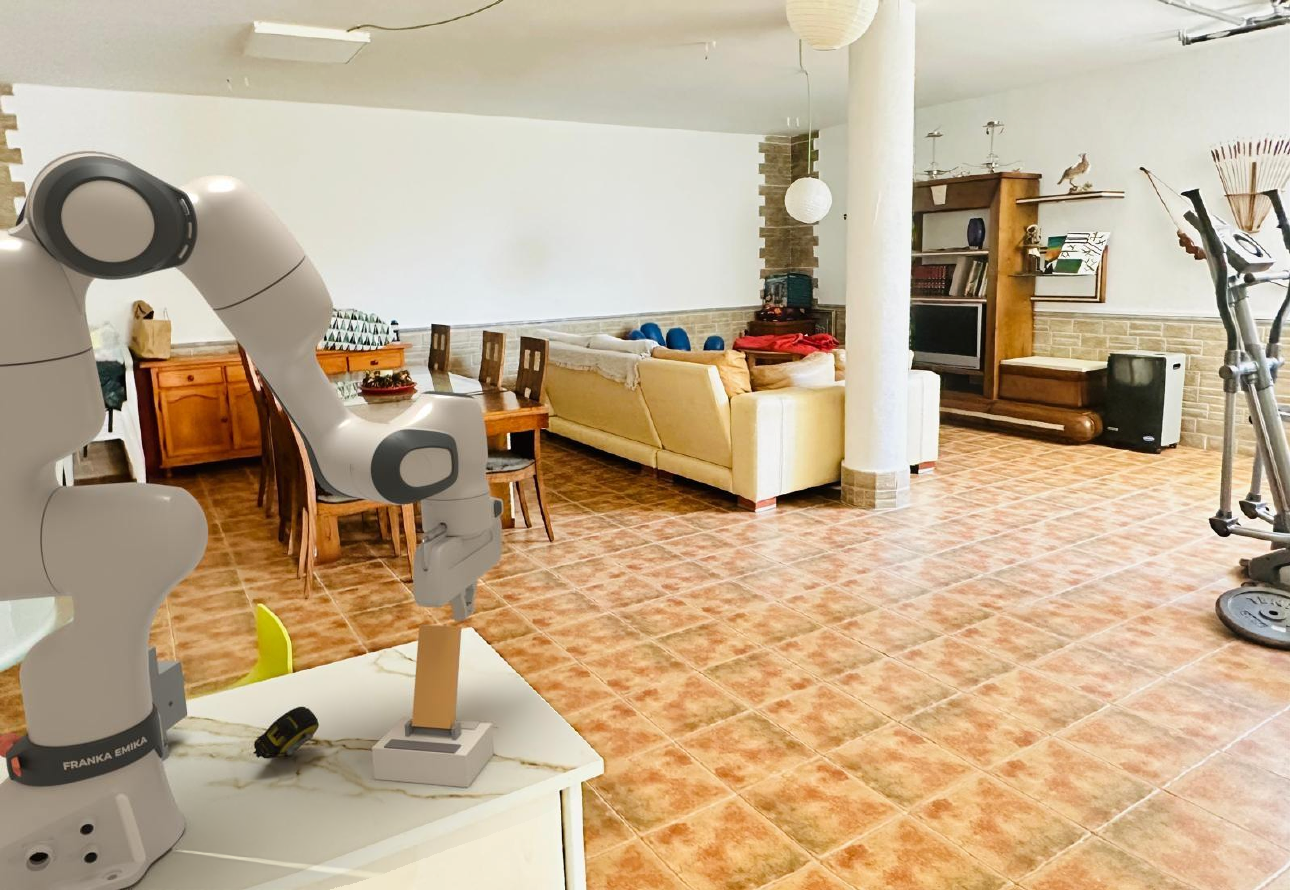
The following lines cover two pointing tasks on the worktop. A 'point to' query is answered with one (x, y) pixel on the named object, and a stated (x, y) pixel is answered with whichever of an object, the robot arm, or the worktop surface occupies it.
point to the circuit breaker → (167, 693)
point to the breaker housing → (433, 754)
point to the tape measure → (287, 734)
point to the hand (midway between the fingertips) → (463, 617)
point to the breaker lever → (436, 679)
